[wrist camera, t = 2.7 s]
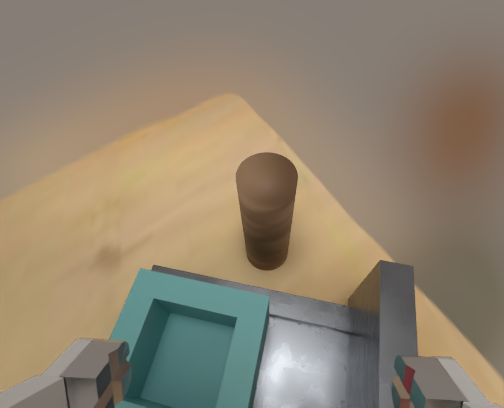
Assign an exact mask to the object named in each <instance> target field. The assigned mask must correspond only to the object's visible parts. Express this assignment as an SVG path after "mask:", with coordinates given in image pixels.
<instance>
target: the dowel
mask: <svg viewBox="0 0 504 408" xmlns="http://www.w3.org/2000/svg"><path fill="white" fill-rule="evenodd" d="M297 180H298V174H297V170H296V168H295V166H294V165H293V163H292V162H291V161H290V160H289V159H287V158H286V157H284V156H282V155H279V154H276V153H258V154H255V155H252V156H250V157H248V158H247V159H245V160H244V161H243V162H242V163H241V164H240V166H239V167H238V170H237V173H236V183H237V190H238V197H239V204H240V211H241V218H242V224H243V231H244V238H245V245H246V252H247V257H248V259H249V261H250V262H251V264H252V265H253V266H255V267H256V268H258V269H261V270H273V269H276V268H278V267H280V266H281V265H282V264H283V263H284V261H285V260H286V257H287V253H288V245H289V238H290V231H291V224H292V216H293V209H294V202H295V194H296V187H297Z"/></svg>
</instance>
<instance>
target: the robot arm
mask: <svg viewBox="0 0 504 408" xmlns="http://www.w3.org/2000/svg"><path fill="white" fill-rule="evenodd" d="M129 353H130V351H129V343H127V342H126V341H119V340H106V339H90V338H79V339H76V340H75V341H74V342H73V343H72V344H71V345H70V346H69V347H68V348H67V349H66V350H65V351H64V352H63V353H62V354H61V355H60V356H59V357H58V358H57V359H56V360H55V362H54V363H53V364H52V365H51V366H50V367H49V368H48V369H47V370H46V371H45V372H44V373H43V374H42V375H41V376H34V377H32V378H30V379H28V380H26V381H24V382H22V383H20V384H18V385H16V386H14V387H12V388H10V389H8V390H6V391H4V392H2V393H0V408H115V405H116V404H118V403H119V402H121V401H122V400H123V399H124V397H125V395H126V393H127V391H128V388H129V385H130V382H131V373H132V372H131V365H130V363H129V362H128V361H127V360H126V358H127V356H128V355H129ZM394 368H395V370H396V372H397V374H398V375H397V376H396V377H395V378H394V379H393V380H392V388H391V392H392V401H393V404H394V408H503V407H502V406H500V405H498V404H492V403H490V401H489V400H488V399H487V398H486V397H485V395H484V394H483V393H482V392H481V390H480V389H479V388H478V387H477V386H476V384H475V383H474V382H473V381H472V380H471V378H470V377H469V376H468V375H467V373H466V372H465V371H464V370H463V369H462V367H461V366H460V365H459V364H458V362H457V361H456V360H455V359H453V358H452V357H438V356H433V357H423V356H401V355H397V356H396V358H395V363H394Z"/></svg>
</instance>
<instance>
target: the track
mask: <svg viewBox="0 0 504 408" xmlns="http://www.w3.org/2000/svg"><path fill="white" fill-rule="evenodd" d="M151 271H156V272H160V273H165V274H169V275H174V276H179V277H183V278H188V279H192V280H197V281H202V282H206V283H211V284H216V285H220V286H225V287H229V288H234V289H239V290H243V291H248V292H252V293H257V294H262V295H266V296H270V304H269V323H268V329H267V334H266V339H265V344H264V350H263V355H262V360H261V365H260V371H259V376H258V381H257V387H256V392H255V397H254V402H253V408H394V404H393V401H392V392H391V388H392V380H393V379H394V378H395V377H396V376H397V375H398V374H397V372H396V370H395V368H394V363H395V358H396V356H397V355H401V356H418V349H417V329H416V310H415V290H414V272H413V266H409V265H404V264H399V263H393V262H388V261H383V260H380V261H379V262H378V263H377V265H376V266H375V267H374V268H373V269H372V271H371V272H370V273H369V274H368V276H367V277H366V278H365V279H364V280H363V282H362V283H361V284H360V285H359V287H358V288H357V289H356V290H355V291H354V293H353V294H352V295H351V296H350V297H349V301H348V306H344V305H339V304H335V303H330V302H325V301H321V300H316V299H311V298H306V297H302V296H297V295H292V294H288V293H283V292H278V291H274V290H269V289H264V288H260V287H255V286H250V285H245V284H241V283H236V282H231V281H227V280H222V279H217V278H213V277H208V276H203V275H199V274H194V273H189V272H185V271H180V270H175V269H170V268H166V267H161V266H156V265H153V267H152V270H151Z"/></svg>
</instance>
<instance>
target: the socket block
mask: <svg viewBox="0 0 504 408" xmlns="http://www.w3.org/2000/svg"><path fill="white" fill-rule="evenodd" d="M269 304H270V296H266V295H262V294H257V293H252V292H248V291H243V290H239V289H234V288H229V287H225V286H220V285H216V284H211V283H206V282H202V281H197V280H192V279H188V278H183V277H179V276H174V275H169V274H165V273H160V272H156V271H151V270H146V269H142V268H140V270H139V272H138V275H137V277H136V279H135V282H134V284H133V286H132V288H131V291H130V293H129V295H128V298H127V300H126V302H125V304H124V307H123V309H122V311H121V314H120V316H119V318H118V320H117V323H116V325H115V327H114V330H113V332H112V334H111V336H110V339H109V340H119V341H126V342H127V343H129V351H130V353H129V355H128V356H127V358H126V360H127V361H128V362H129V363H130V365H131V372H132V373H131V382H130V385H129V388H128V391H127V393H126V395H125V397H124V399H123V400H122V401H121V402H119V403H118V404H116V405H115V408H253V402H254V397H255V392H256V387H257V381H258V376H259V371H260V365H261V360H262V355H263V350H264V344H265V339H266V334H267V329H268V323H269Z"/></svg>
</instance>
